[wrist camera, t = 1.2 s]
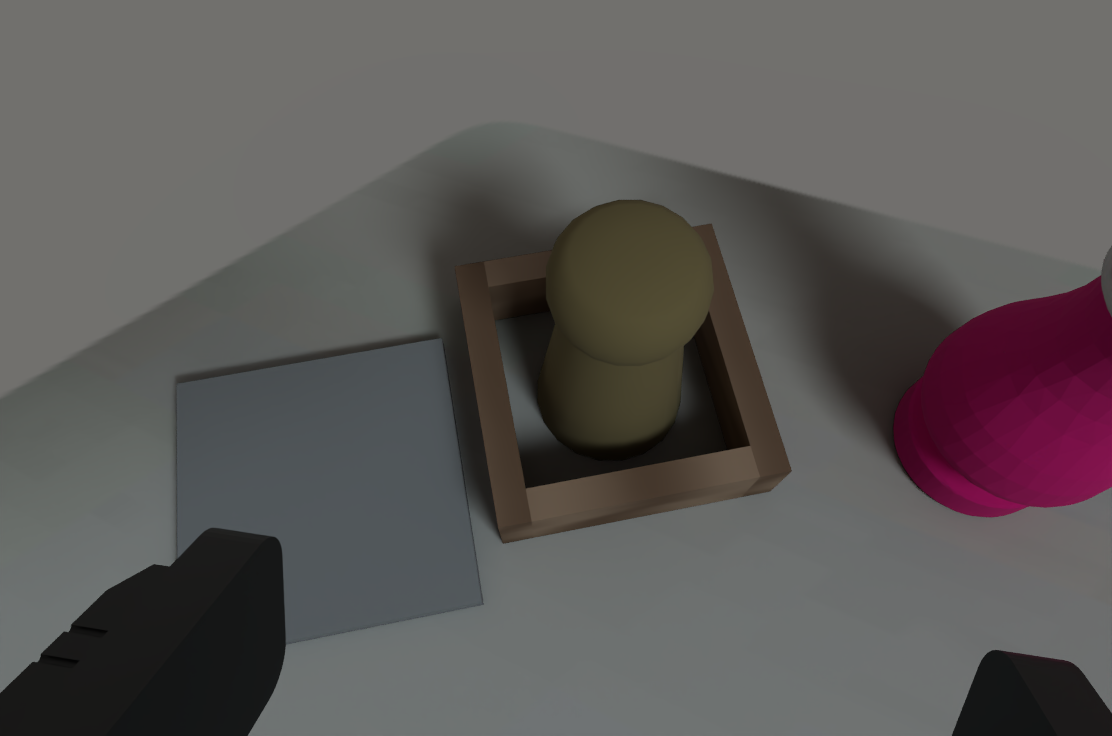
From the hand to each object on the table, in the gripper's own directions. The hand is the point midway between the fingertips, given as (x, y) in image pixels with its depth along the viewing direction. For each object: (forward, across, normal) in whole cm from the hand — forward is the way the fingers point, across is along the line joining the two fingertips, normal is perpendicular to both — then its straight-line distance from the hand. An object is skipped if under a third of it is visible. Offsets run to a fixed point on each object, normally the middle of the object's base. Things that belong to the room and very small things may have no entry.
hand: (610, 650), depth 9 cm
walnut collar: (+23, 0, +7) cm, 24 cm away
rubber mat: (+19, +11, +11) cm, 24 cm away
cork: (+23, 0, +7) cm, 24 cm away
